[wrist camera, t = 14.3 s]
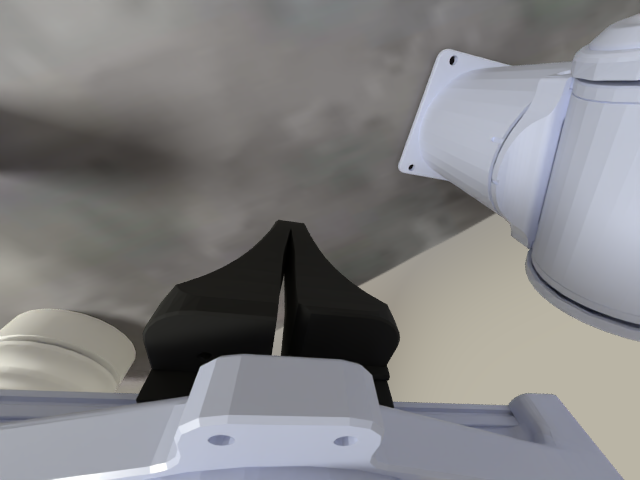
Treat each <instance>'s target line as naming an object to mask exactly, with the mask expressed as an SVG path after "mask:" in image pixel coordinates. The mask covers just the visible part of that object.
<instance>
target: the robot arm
mask: <svg viewBox="0 0 640 480" xmlns="http://www.w3.org/2000/svg"><path fill="white" fill-rule="evenodd" d="M452 56H453V57H454V59H455V60H454V63H453V64H452V65H450V63H449V61H450V58H451V57H452ZM412 164H413V168H412V169H410V170H409V169H408V168H409V166H410V165H412ZM398 168H399V170H400V171H401V172H403V173H408V174H413V175H419V176H424V177H430V178H435V179H441V180H446V181H450V182H451V183H453V184H454V185H456V186H457V187H459V188H460V189H462V190H463V191H464V192H466V193H467V194H469V195H470V196H472V197H473V198H475V199H476V200H478V201H479V202H481V203H482V204H484V205H485V206H487V207H488V208H490V209H491V210H492V211H494V212H495V213H497V214H498V215H500V216H502V217H503V218H504V219H506V221H507V222H509V224H510V226H511V236H512V237H513V238H515V239H516V240H517V241H519V242H520V243H522V244H523V245H524V246H526V247H527V248H528V249H530V250H529V251H528V254H527V258H526V262H525V268H526V274H527V276H528V279H529V281H530V282H531V284H532V285H533V287H534V288H535V289H536V290H537V291H538V292H539V293H540V295H541V296H542V297H544V298H545V299H546V300H547V301H549V302H550V303H551V304H552V305H554V306H555V307H557V308H558V309H560V310H561V311H563V312H565V313H566V314H568V315H570V316H572V317H574V318H576V319H578V320H580V321H581V322H583V323H586V324H588V325H590V326H593V327H595V328H598V329H600V330H603V331H605V332H608V333H611V334H614V335H618V336H621V337H624V338H627V339H631V340H635V341H640V14H637V15H634V16H631V17H628V18H626V19H623V20H621V21H618V22H616V23H614V24H612V25H610V26H609V27H607V28H606V29H605V30H604V31H603V32H602V33H600V34H599V35H598V36H597V37H596V38H595V39H594V40H593V41H592V42H591V43H590V44H588V45H586V46H584V47H583V48H581V49H580V50H579V51H578V52H576V54H575V56H574V59H573V61H569V62H557V63H544V64H531V65H518V66H511V65H508V64H504V63H500V62H496V61H493V60H489V59H485V58H482V57H478V56H474V55H471V54H467V53H463V52H460V51H456V50H452V49H444V50H442V51H441V52H440V53H439V54H438V56H437V58H436V61H435V64H434V67H433V69H432V72H431V75H430V78H429V81H428V83H427V86H426V89H425V92H424V95H423V97H422V100H421V103H420V106H419V109H418V111H417V114H416V117H415V120H414V122H413V125H412V128H411V131H410V134H409V136H408V139H407V142H406V145H405V148H404V150H403V153H402V156H401V159H400V162H399V164H398ZM283 277H284V290H285V317H284V330H283V340H282V351H281V356H272V348H273V342H274V335H275V328H276V321H277V313H278V304H279V294H280V290H281V286H282V281H283ZM143 341H144V345H145V348H146V351H147V355H148V358H149V361H150V364H151V368H152V370H151V372H150V374H149V376H148V378H147V380H146V381H145V383H144V385H143V387H142V389H141V391H140V393H139V394H132V393H101V392H69V391H37V390H6V389H0V480H624V479H623V478H622V476H621V475H620V474H619V473H618V472H617V470H616V469H615V468H614V467H613V465H612V464H611V463H610V462H609V460H608V459H607V458H606V457H605V455H604V454H603V453H602V452H601V450H600V449H599V448H598V447H597V446H596V444H595V443H594V442H593V441H592V439H591V438H590V437H589V436H588V434H587V433H586V432H585V431H584V429H583V428H582V427H581V426H580V425H579V423H578V422H577V421H576V419H575V418H574V417H573V416H572V415H571V413H570V412H569V411H568V410H567V408H566V407H565V406H564V405H563V403H562V402H561V401H560V400H559V399H558V397H557V396H556V395H553V394H536V393H528V394H527V393H526V394H522V395H519V396H517V397H515V398H514V399H513V400H512V401H511V402H510V403H509V405H480V404H449V403H417V402H393V401H392V397H391V393H390V390H389V386H388V383H387V381H388V380H389V378H390V376H389V371H388V368H387V364H388V362H389V360H390V358H391V357H392V355H393V353H394V352H395V350H396V348H397V346H398V343H399V341H400V335H399V331H398V328H397V326H396V323H395V320H394V318H393V316H392V314H391V312H390V310H389V308H388V305H387V304H385V303H383V302H382V301H380V300H378V299H376V298H375V297H373V296H371V295H369V294H368V293H366V292H365V291H363V290H361V289H360V288H359V287H357V286H356V285H354V284H353V283H352V282H350V281H349V280H348V279H347V278H346V277H344V276H343V275H342V274H341V273H340V272H339V271H338V270H336V269H335V268H334V267H333V265H332V264H331V263H330V262H329V261H328V260H327V259H326V258H325V257H324V255H323V254H322V253H321V251H320V250H319V248H318V247H317V245H316V244H315V242H314V241H313V239H312V237H311V236H310V234H309V232H308V230H307V228H306V226H305V224H304V223H297V222H290V221H283V220H278V221H276V222H275V224H274V226H273V227H272V228H271V230H270V231H269V232H268V233H267V234H266V235H265V236H264V237H263V239H262V240H261V241H259V242H258V243H257V244H256V245H255V246H254V247H253V248H252V249H250V250H249V251H248V252H247V253H245V254H244V255H243V256H241V257H240V258H238V259H237V260H235V261H233V262H231V263H230V264H228V265H226V266H224V267H222V268H220V269H218V270H216V271H214V272H211V273H209V274H207V275H204V276H202V277H199V278H196V279H193V280H190V281H187V282H184V283H181V284H177V285H175V287H174V288H173V289H172V290H171V291H170V293H169V294H168V295H167V296H166V297H165V298H164V300H163V301H162V302H161V304H160V305H159V306H158V308H157V310H156V311H155V313H154V314H153V316H152V317H151V319H150V320H149V322H148V324H147V325H146V327H145V330H144V332H143Z"/></svg>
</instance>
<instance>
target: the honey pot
mask: <svg viewBox="0 0 640 480" xmlns="http://www.w3.org/2000/svg"><path fill="white" fill-rule="evenodd" d="M135 356H136V351H135V348H134V346H133V343H132V342H131V341H130V340H129V339H128V338H127V337H126V335H125V334H123V333H122V332H120V331H119V330H118V329H116V328H115V327H114V326H112V325H110V324H108V323H106V322H104V321H102V320H100V319H97V318H94V317H91V316H88V315H86V314H83V313H78V312H73V311H68V310H61V309H39V310H30V311H28V312H25V313H22V314H20V315H18V316H17V317H16V318H14V319H13V320H12V321H11V322H9V323H8V324H7V325H6V326H5V327H3V328H2V329H1V330H0V389H6V390H37V391H69V392H101V393H115V391H116V389H117V388H118V386H119V385H120V383H121V382H122V380H123V378H124V377H125V375H126V373H127V372H128V370H129V369H130V367H131V365H132V364H133V362H134V360H135Z"/></svg>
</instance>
